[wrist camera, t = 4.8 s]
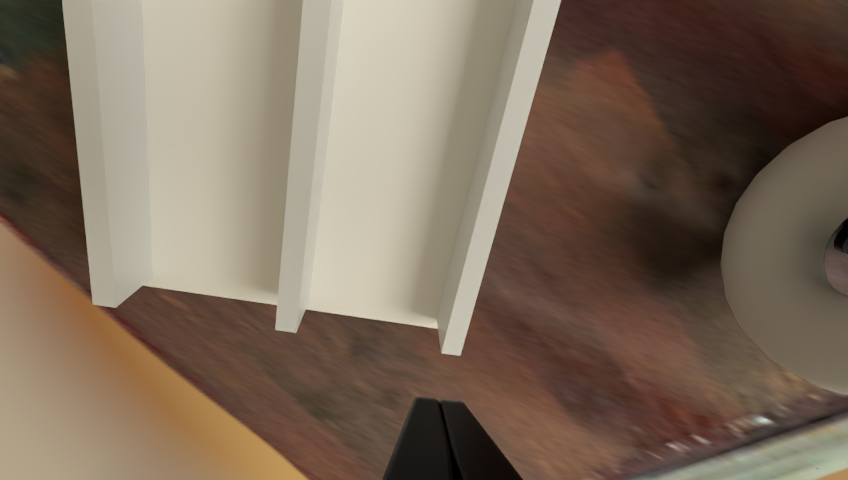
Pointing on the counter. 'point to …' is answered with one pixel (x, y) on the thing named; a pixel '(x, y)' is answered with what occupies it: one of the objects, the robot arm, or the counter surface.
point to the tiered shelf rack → (302, 149)
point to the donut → (793, 258)
